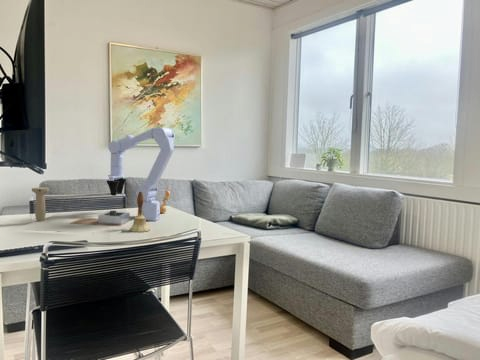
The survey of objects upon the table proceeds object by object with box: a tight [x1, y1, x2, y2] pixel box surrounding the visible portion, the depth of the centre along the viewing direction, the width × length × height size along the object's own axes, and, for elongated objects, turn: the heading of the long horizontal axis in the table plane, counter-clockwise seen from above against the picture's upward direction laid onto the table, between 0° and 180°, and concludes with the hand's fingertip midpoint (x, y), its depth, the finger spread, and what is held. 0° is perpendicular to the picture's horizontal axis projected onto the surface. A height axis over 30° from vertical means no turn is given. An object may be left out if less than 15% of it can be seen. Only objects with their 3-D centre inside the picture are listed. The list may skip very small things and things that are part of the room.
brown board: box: [68, 210, 131, 227], centre depth 173 cm, size 22×13×6 cm, turn 87°
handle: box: [31, 186, 50, 223], centre depth 170 cm, size 5×6×15 cm
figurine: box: [160, 189, 171, 214], centre depth 205 cm, size 8×6×12 cm
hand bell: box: [129, 192, 151, 233], centre depth 164 cm, size 8×8×16 cm
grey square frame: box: [97, 211, 131, 226], centre depth 174 cm, size 10×10×4 cm
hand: (116, 194), depth 192 cm, fingers open, 7 cm apart
